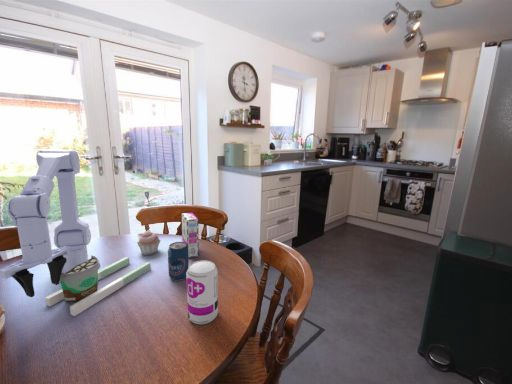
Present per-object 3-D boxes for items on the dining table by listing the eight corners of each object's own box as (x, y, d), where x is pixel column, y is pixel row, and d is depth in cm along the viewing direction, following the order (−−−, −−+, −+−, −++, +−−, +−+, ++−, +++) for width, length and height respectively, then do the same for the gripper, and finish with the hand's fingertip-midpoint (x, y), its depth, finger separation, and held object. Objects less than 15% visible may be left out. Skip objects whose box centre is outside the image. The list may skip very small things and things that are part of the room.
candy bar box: (199, 256, 106) (198, 219, 102) (187, 258, 103) (186, 220, 100) (193, 246, 115) (192, 211, 112) (182, 248, 113) (180, 213, 110)
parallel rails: (46, 305, 73) (45, 297, 73) (126, 262, 99) (126, 256, 98) (74, 316, 69) (73, 308, 68) (150, 268, 95) (150, 262, 94)
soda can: (167, 282, 86) (166, 250, 84) (170, 272, 93) (168, 241, 90) (188, 280, 87) (187, 248, 85) (189, 270, 94) (188, 240, 92)
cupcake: (165, 248, 112) (164, 227, 110) (152, 258, 103) (151, 235, 101) (147, 246, 114) (145, 225, 112) (132, 255, 105) (130, 232, 103)
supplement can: (203, 330, 65) (202, 277, 62) (181, 318, 69) (179, 268, 66) (223, 313, 72) (223, 264, 69) (202, 302, 76) (201, 256, 73)
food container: (78, 309, 72) (75, 278, 70) (60, 305, 73) (56, 274, 71) (111, 285, 84) (109, 257, 81) (95, 281, 85) (92, 254, 83)
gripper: (8, 256, 56) (19, 310, 59) (75, 234, 69) (81, 279, 72) (-10, 250, 58) (1, 302, 61) (58, 230, 72) (64, 273, 74)
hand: (43, 289), depth 67 cm, fingers open, 5 cm apart
